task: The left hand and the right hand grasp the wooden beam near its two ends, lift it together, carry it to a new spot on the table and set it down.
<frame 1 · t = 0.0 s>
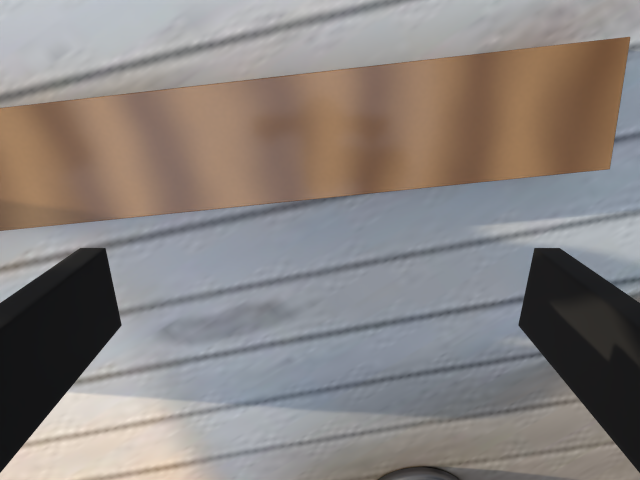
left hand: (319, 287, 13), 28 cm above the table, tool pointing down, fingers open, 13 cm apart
wooden beam: (194, 143, 38), on the table
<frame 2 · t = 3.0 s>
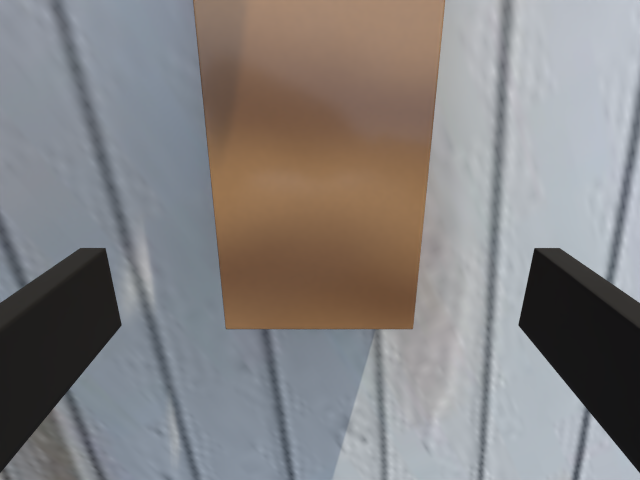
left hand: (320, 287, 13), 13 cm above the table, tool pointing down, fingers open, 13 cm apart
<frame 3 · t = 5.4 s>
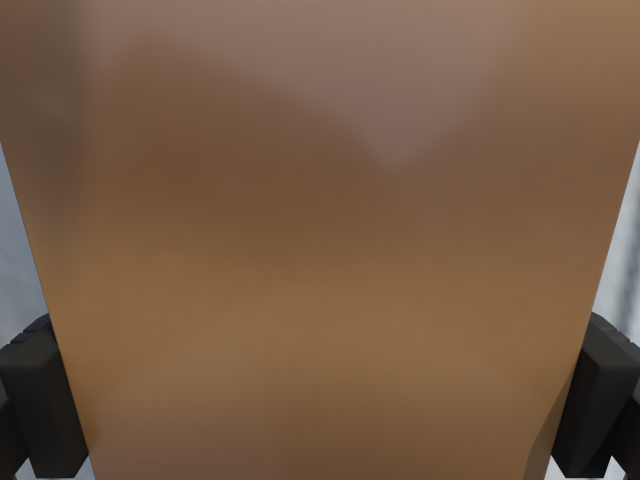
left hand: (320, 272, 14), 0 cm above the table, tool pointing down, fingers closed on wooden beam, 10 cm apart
when the left hand's fingers open (2 cm above the table, at t = 10.6 s): wooden beam stays where it is, on the table.
when the right hand's fingers open (2 cm above the table, at t = 10.6 s): wooden beam stays where it is, on the table.
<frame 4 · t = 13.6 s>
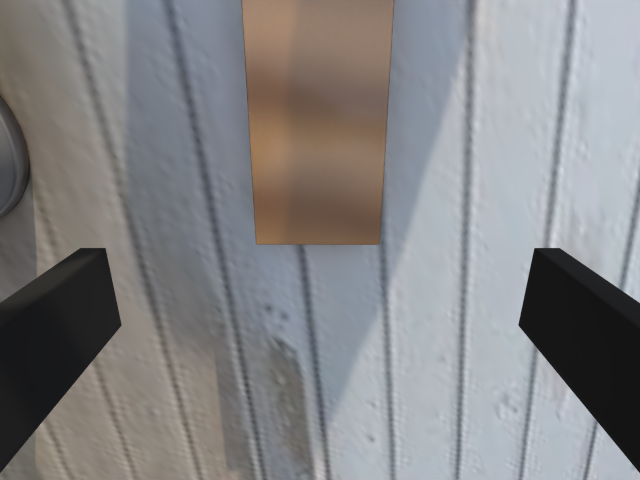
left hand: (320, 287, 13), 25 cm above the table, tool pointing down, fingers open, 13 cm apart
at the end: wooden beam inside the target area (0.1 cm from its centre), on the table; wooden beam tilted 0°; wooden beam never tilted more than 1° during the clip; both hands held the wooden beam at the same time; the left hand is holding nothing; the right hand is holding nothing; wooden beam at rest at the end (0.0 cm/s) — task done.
